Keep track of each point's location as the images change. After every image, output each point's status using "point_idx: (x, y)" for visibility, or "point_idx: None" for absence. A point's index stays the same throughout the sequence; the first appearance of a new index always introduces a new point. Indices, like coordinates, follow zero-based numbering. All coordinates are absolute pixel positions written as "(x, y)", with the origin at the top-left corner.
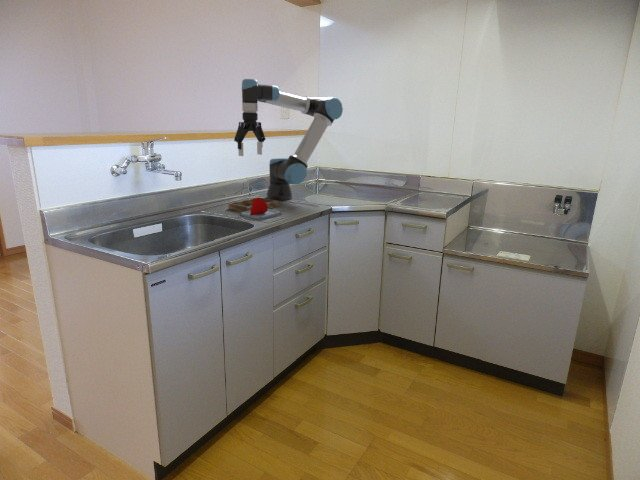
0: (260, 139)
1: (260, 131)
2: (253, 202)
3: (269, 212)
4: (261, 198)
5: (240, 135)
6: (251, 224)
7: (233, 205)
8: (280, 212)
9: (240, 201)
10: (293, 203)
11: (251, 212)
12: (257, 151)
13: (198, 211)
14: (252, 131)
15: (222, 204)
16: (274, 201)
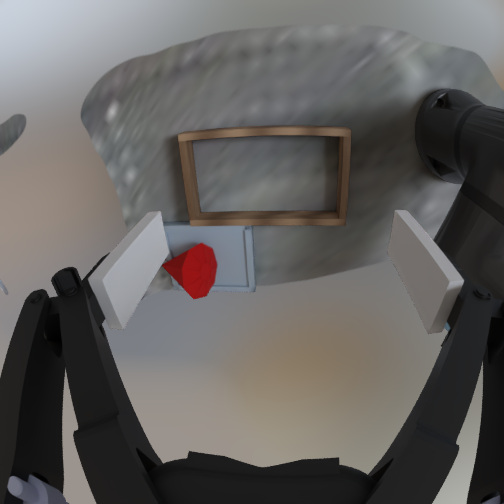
0: (440, 351)
1: (486, 432)
2: (176, 270)
3: (233, 268)
4: (343, 147)
5: (57, 383)
6: None
7: (181, 159)
8: (252, 291)
9: (234, 135)
10: None
11: (165, 268)
12: (403, 224)
13: (103, 103)
14: (414, 430)
15: (219, 55)
16: (327, 222)
